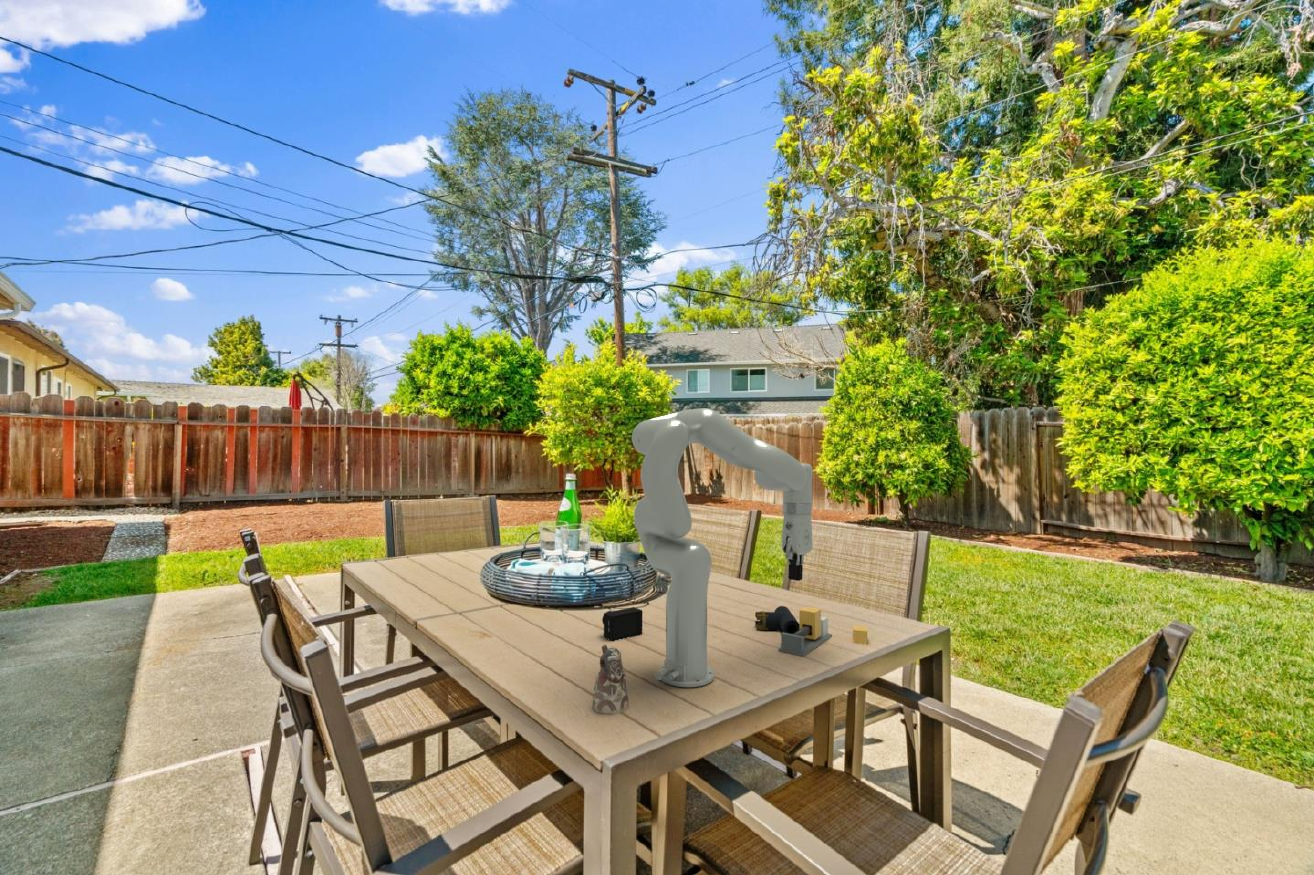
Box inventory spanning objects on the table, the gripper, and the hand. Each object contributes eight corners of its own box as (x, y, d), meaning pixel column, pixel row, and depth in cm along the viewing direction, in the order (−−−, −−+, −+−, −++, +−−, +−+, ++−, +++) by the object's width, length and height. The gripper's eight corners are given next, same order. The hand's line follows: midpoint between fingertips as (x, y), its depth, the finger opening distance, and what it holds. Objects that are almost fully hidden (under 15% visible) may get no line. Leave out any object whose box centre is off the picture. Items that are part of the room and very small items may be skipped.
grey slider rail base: (804, 656, 148) (804, 636, 148) (778, 650, 152) (778, 630, 152) (832, 636, 164) (832, 617, 164) (808, 631, 168) (808, 613, 168)
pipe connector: (760, 618, 163) (752, 604, 178) (759, 637, 163) (752, 621, 178) (801, 620, 163) (790, 605, 178) (800, 639, 163) (790, 623, 178)
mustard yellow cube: (867, 644, 157) (867, 631, 158) (853, 643, 158) (853, 630, 159) (866, 639, 162) (866, 626, 162) (852, 638, 163) (852, 625, 163)
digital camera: (631, 629, 169) (631, 605, 170) (642, 634, 165) (642, 609, 165) (601, 636, 163) (601, 611, 163) (611, 641, 159) (611, 616, 159)
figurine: (604, 717, 114) (604, 656, 114) (586, 704, 120) (586, 646, 120) (634, 708, 118) (634, 648, 118) (616, 696, 124) (616, 639, 124)
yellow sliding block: (814, 639, 157) (814, 612, 157) (799, 636, 160) (799, 610, 160) (821, 635, 161) (820, 609, 161) (805, 632, 163) (805, 606, 163)
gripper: (799, 512, 145) (797, 586, 145) (821, 509, 157) (819, 577, 157) (771, 509, 150) (769, 581, 149) (795, 507, 162) (793, 573, 161)
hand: (795, 579), depth 153 cm, fingers closed
